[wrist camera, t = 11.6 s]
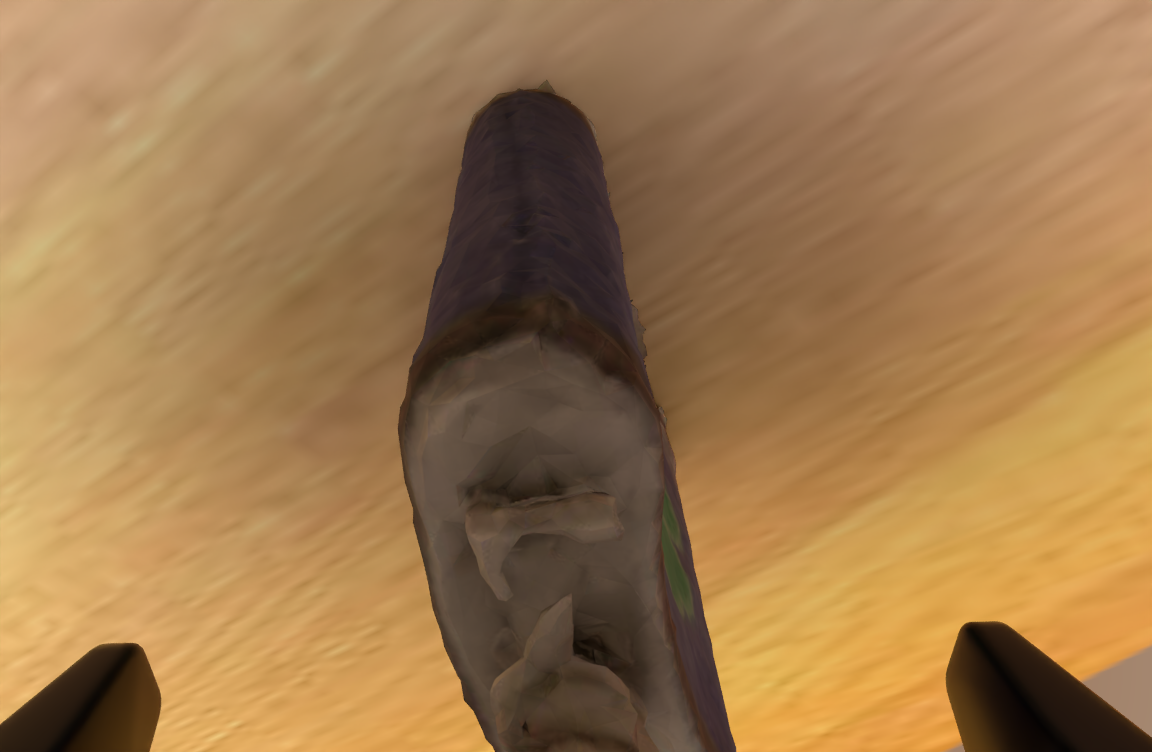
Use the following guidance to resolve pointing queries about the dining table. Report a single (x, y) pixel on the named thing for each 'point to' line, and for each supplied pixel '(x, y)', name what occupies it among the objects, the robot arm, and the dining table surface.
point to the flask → (551, 461)
